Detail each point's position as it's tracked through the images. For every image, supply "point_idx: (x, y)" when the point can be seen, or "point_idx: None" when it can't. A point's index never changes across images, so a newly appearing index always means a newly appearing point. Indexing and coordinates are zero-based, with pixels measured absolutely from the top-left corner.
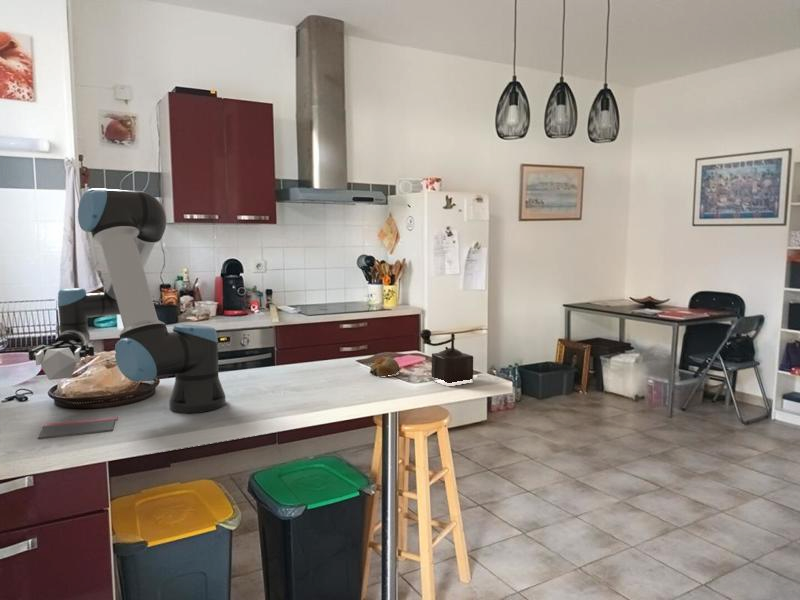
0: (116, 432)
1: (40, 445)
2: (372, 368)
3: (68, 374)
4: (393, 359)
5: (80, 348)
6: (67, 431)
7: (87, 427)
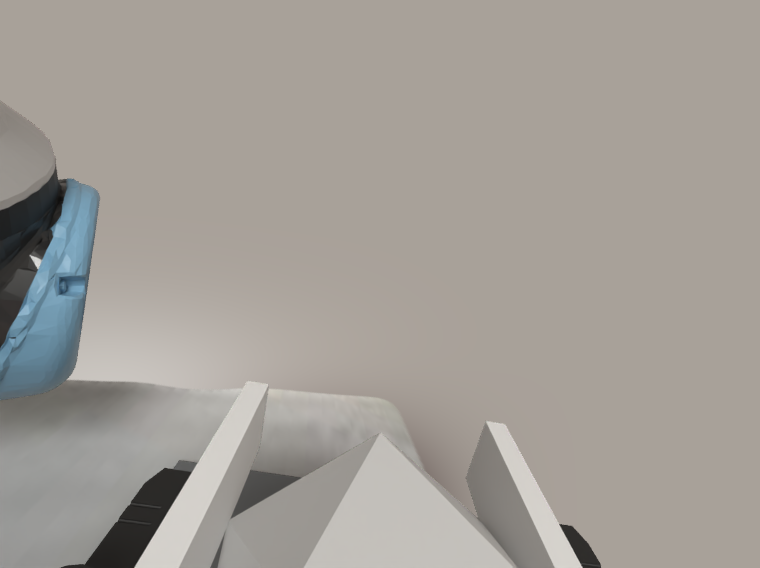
0: (176, 449)
1: None
2: None
3: None
4: None
5: (154, 535)
6: None
7: (234, 509)
